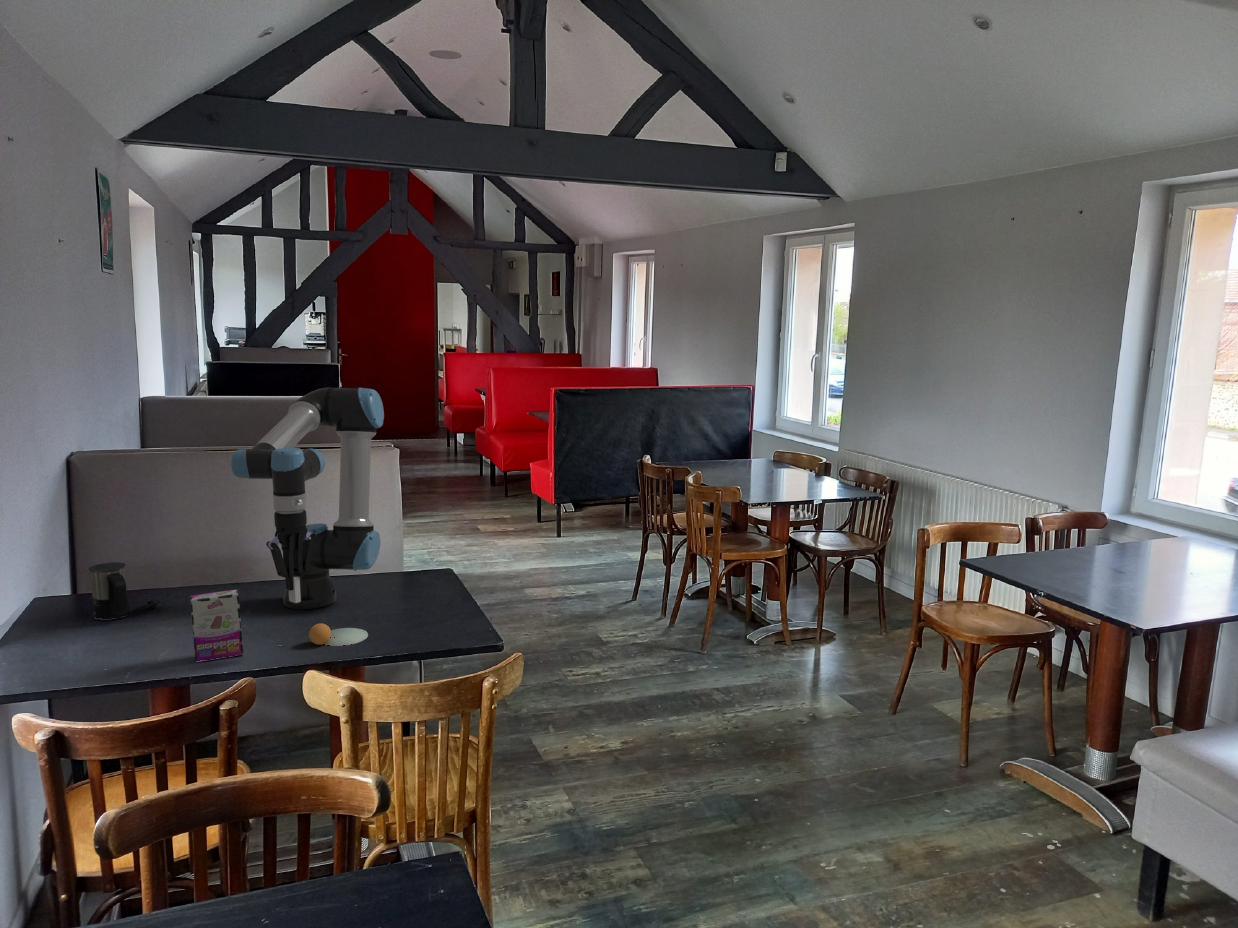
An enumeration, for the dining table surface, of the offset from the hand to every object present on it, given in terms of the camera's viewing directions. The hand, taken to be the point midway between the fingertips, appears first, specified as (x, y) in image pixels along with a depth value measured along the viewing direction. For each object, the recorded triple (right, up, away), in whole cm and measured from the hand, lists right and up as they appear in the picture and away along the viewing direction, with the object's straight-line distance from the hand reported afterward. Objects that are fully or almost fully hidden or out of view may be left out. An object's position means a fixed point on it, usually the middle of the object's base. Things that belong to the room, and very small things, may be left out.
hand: (294, 601), depth 221 cm
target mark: (+8, -12, +14) cm, 20 cm away
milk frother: (-59, -9, +30) cm, 67 cm away
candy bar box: (-19, -14, 0) cm, 24 cm away
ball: (+4, -10, +8) cm, 13 cm away
